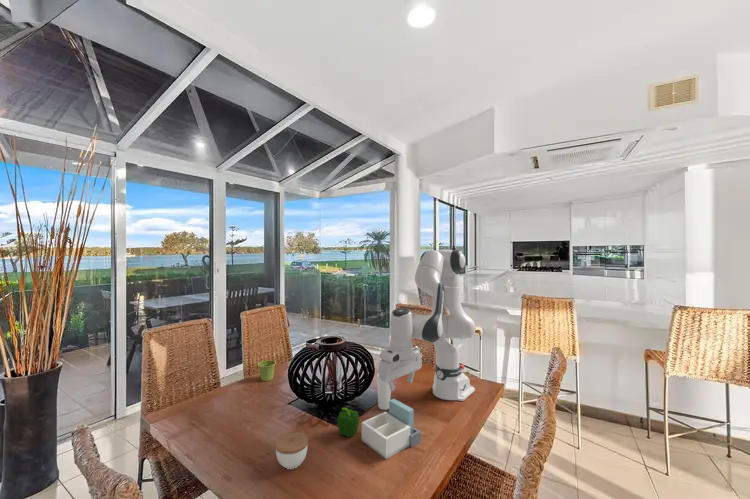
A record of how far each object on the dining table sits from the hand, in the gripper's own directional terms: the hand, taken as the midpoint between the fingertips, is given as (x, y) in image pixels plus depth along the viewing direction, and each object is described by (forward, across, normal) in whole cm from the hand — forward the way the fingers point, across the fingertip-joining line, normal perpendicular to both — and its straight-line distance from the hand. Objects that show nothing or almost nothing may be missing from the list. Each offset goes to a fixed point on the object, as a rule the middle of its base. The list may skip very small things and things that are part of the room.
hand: (401, 385), depth 128 cm
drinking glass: (+20, -8, -20) cm, 29 cm away
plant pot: (+20, +21, -84) cm, 89 cm away
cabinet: (+19, +6, 0) cm, 20 cm away
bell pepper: (+19, +16, -14) cm, 28 cm away
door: (+19, +1, 0) cm, 19 cm away
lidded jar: (+19, +41, -12) cm, 46 cm away
